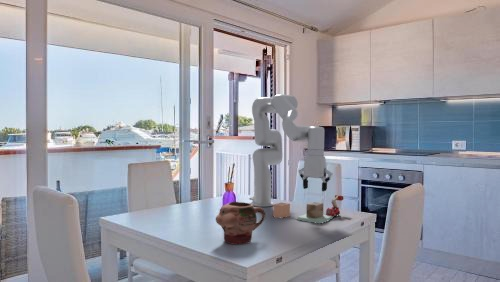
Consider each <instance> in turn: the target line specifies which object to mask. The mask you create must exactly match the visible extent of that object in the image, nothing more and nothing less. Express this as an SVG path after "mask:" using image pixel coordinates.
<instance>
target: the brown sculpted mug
mask: <svg viewBox="0 0 500 282" xmlns="http://www.w3.org/2000/svg"><path fill="white" fill-rule="evenodd" d="M258 213H259V214H260V215H261V219H260V220H259V221H258V222H257V214H258ZM265 219H266V211H265V210H264V208H263V207H258V206H253V205H252V204H251V203H248V202H244V201H243V202H241V201H231V202H228V203H225V204H224V205H222V206H221V207H220V208H219V213H218V215H216V217H215V221H216V224H217V225H218V226H220V227H221V229H222V230H223V240H224V241H225V243H229V244H232V245H245V244H249V243H250V242H251V240H252V237H253V231H255V230H256V229H257V228H259V227H260V226H261V225H262V223H263V222H264V221H265Z"/></svg>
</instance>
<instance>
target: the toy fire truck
mask: <svg viewBox="0 0 500 282" xmlns="http://www.w3.org/2000/svg"><path fill="white" fill-rule="evenodd" d="M343 200H344V196H343V195H338V194H337V195H336V194H335V195H334V199H332V200H331V201H330V202H331V205H332V207H331V208H330V207H328V208H326V211H325V213H326V214H325V215H328V216H333V217H334V216H337V215H339V214H340V215H341V211H340V208H339V207H338V205H337V202H336V201H343ZM340 215H339V216H340ZM337 217H338V216H337ZM334 218H335V217H334Z"/></svg>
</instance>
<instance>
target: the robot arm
mask: <svg viewBox="0 0 500 282" xmlns="http://www.w3.org/2000/svg"><path fill="white" fill-rule="evenodd" d="M298 102H299V101H298V99H297V98H296V97H295V96H293V95H291V94H281V93H279V94H276V95H273V97H267V96H262V97H257V98H255V99H254V101H253V103H252V105H251V113H252V118H253V124H254V126H253V127H254V128H253V130H254V142H255V144H256V145H257V146H260V147H261V148H258V149H256V150H254V151H253V152H252V163H253V172H254V173H253V174H254V176H253V177H254V178H253V179H254V181H253V195H250V196H249V197H248V200H249V201H251V203H250V204H252V205H253V206H254V207H260V208H266V207H273V205H274V204H275V202H273V201H272V171H271V170H270V167H269V166H277V165H279V164H281V162H282V161H283V139H282V133H281V132H280V131H279V130H278V129H274V128H273V129H271V128H270V121H269V120H270V119H269V118H268V116H267V115H266V114H278V115H279V117H280V118H281V119H282V121H281V125H282V126H281V127H282V130H283V133H284V134H285V135H286V136H287V137H288V139H290V141H292V142H306V143H307V149H306V150H305V151H304V152H305V154H307V155H305V158H304V163H303V168H301V169H298V174H299V177H300V178H301V180H302V187H303V189H304V190H305V189H309V180H308V178H314V179H321V181H322V182H321V192H326V191H327V189H328V183H329V181H330V180H331V178H332V177H333V173H332V172H331V171H330V170H328V169H327V160H326V156H324V155H325V127H322V126H310V125H296V124H295V123H294V121H295V120H296V119H297V117H298V116H299V115H298V114H299V112H298V110H297V108H298ZM262 147H265V148H262ZM266 147H269V148H266Z"/></svg>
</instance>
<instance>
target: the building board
mask: <svg viewBox="0 0 500 282" xmlns="http://www.w3.org/2000/svg"><path fill="white" fill-rule="evenodd" d="M306 216H307V213H304V214H301V215H299V216H297V217H296V218H297V219H296V220H297V221H300V220H303V221H302V222H305V221H310V222H309V223H311V222H316V223H315V224H317V223H322V222H325V221H327V220H330V219H332V218H333V216H328V215H326V214H323V216H322V217H319V218H310V217H306ZM333 219H334V218H333ZM333 219H332V220H333ZM330 221H331V220H330ZM327 222H328V221H327ZM325 223H326V222H325ZM322 224H323V223H322Z"/></svg>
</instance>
